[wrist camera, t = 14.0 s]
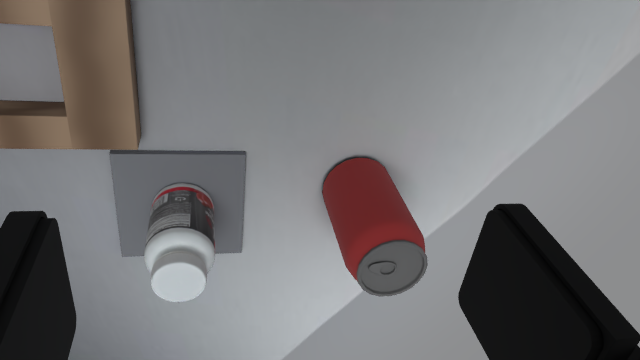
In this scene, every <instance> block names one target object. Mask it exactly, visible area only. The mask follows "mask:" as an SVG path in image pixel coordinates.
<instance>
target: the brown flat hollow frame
mask: <svg viewBox="0 0 640 360" xmlns="http://www.w3.org/2000/svg"><path fill="white" fill-rule="evenodd" d="M0 23H5V24H23V25H40V26H52V29H53V35H54V41H55V47H56V53H57V59H58V65H59V71H60V78H61V84H62V90H63V96H64V102H37V101H0V148H6V149H118V150H138V146H139V142H140V138H141V127H140V114H139V102H138V90H137V78H136V65H135V53H134V41H133V29H132V17H131V4H130V0H0Z"/></svg>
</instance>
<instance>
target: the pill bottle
mask: <svg viewBox="0 0 640 360" xmlns="http://www.w3.org/2000/svg"><path fill="white" fill-rule="evenodd" d="M144 260H145V264H146V267H147V269H148V270H149V272H150V273H151V286H152V289H153V291H154V292H155V293H156V294H157V295H158V296H159V297H161V298H162V299H164V300H167V301H171V302H184V301H188V300H191V299H193V298H195V297H197V296H198V295H200V294H201V293H202V292H203V290H204V289H205V286H206V282H207V273H208V272H209V271H210V269H211V268H212V266H213V264H214V260H215V233H214V206H213V202H212V199H211V198H210V196H209V195H208V194H207V192H205V191H204V190H203V189H201V188H200V187H198V186H195V185H192V184H185V183H178V184H173V185H170V186H167V187H165V188H164V189H162V190H161V191H160V192H159V193H158V194H157V195H156V196H155V198H154V200H153V203H152V208H151V213H150V220H149V226H148V233H147V239H146V245H145V251H144Z"/></svg>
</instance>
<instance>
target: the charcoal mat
mask: <svg viewBox="0 0 640 360" xmlns="http://www.w3.org/2000/svg"><path fill="white" fill-rule="evenodd" d="M109 155H110V163H111V171H112V180H113V188H114V196H115V204H116V212H117V220H118V229H119V237H120V245H121V253H122V257H128V256H144V251H145V245H146V239H147V233H148V226H149V220H150V213H151V208H152V203H153V200H154V198H155V196H156V195H157V194H158V193H159V192H160V191H161V190H162V189H164V188H165V187H167V186H170V185H173V184H178V183H185V184H192V185H195V186H198V187H200V188H201V189H203V190H204V191H205V192H207V194H208V195H209V196H210V198H211V199H212V202H213V206H214V233H215V254H216V253H242V229H243V206H244V182H245V158H246V154H245V151H131V150H110V154H109Z"/></svg>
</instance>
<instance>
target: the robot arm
mask: <svg viewBox="0 0 640 360" xmlns="http://www.w3.org/2000/svg"><path fill="white" fill-rule="evenodd" d="M458 298H459V304H460V307H461V309H462V311H463V313H464V314H465V316H466V318H467V320H468V322H469V324H470V325H471V327H472V329H473V331H474V333H475V334H476V336H477V338H478V340H479V342H480V343H481V345H482V347H483V349H484V351H485V353H486V354H487V356H488V358H489V360H640V348H639V347H638V345H637V344H638V343H639V341H640V334H639V333H638V332H637V331H636V330H635V329H634V328H633V327H632V325H631V324H630V323H629V322H628V321H627V320H626V319H625V318H624V316H623V315H622V314H621V313H620V312H619V311H618V310H617V309H616V307H615V306H614V305H613V304H612V303H611V302H610V301H609V300H608V298H607V297H606V296H605V295H604V294H603V293H602V292H601V290H600V289H598V287H597V286H596V285H595V284H594V283H593V281H592V280H591V279H590V278H589V277H588V276H587V275H586V274H585V272H584V271H583V270H582V269H581V268H580V267H579V266H578V265H577V263H576V262H575V261H574V260H573V259H572V258H571V257H570V256H569V254H568V253H567V252H566V251H565V250H564V249H563V248H562V247H561V245H560V244H559V243H558V242H557V241H556V240H555V239H554V237H553V236H552V235H551V234H550V233H549V232H548V231H547V230H546V228H545V227H544V226H543V225H542V224H541V223H540V222H539V221H538V219H536V217H535V216H534V215H533V214H532V213H531V212H530V210H529V209H528V208H527V207H526V206H525V205H523V204H498V205H496V206H495V207H494V209H493V210H491V211H489V212H488V214H487V216H486V219H485V221H484V224H483V227H482V230H481V232H480V235H479V238H478V241H477V243H476V247H475V249H474V252H473V254H472V257H471V260H470V263H469V266H468V268H467V271H466V274H465V277H464V280H463V283H462V285H461V288H460V291H459V297H458ZM75 329H76V311H75V306H74V302H73V297H72V292H71V287H70V282H69V277H68V272H67V267H66V262H65V257H64V252H63V247H62V242H61V237H60V232H59V227H58V223H57V220H56V219H55V218H47V215H46V214H45V212H43V211H14V212H10V213H9V214H8V215H7V217H6V219H5V221H4V223H3V224H2V226H1V228H0V360H68V356H69V352H70V349H71V345H72V341H73V338H74V334H75Z"/></svg>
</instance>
